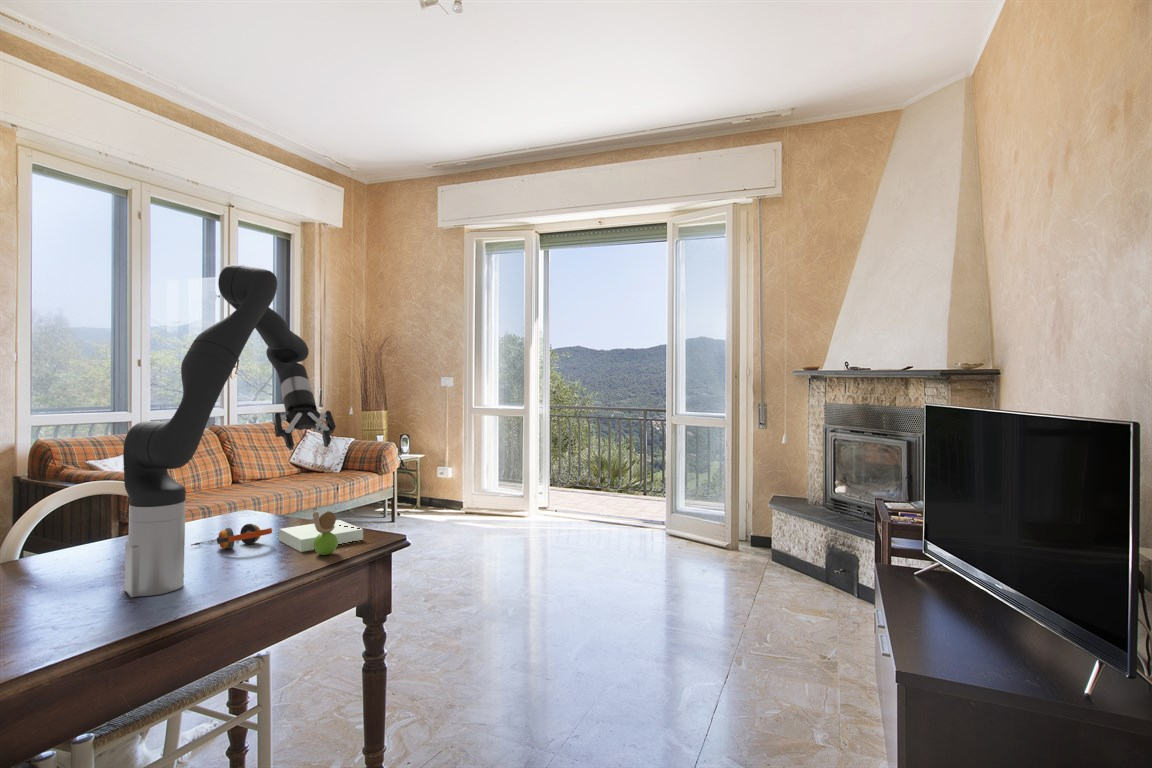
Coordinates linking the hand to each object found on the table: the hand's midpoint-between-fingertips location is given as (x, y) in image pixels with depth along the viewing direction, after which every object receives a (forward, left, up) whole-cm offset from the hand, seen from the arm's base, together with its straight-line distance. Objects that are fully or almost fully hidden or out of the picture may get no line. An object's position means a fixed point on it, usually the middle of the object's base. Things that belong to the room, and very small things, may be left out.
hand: (310, 446), depth 153 cm
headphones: (-13, +11, -25) cm, 31 cm away
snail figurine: (-1, -11, -25) cm, 28 cm away
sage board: (+4, +2, -25) cm, 25 cm away
